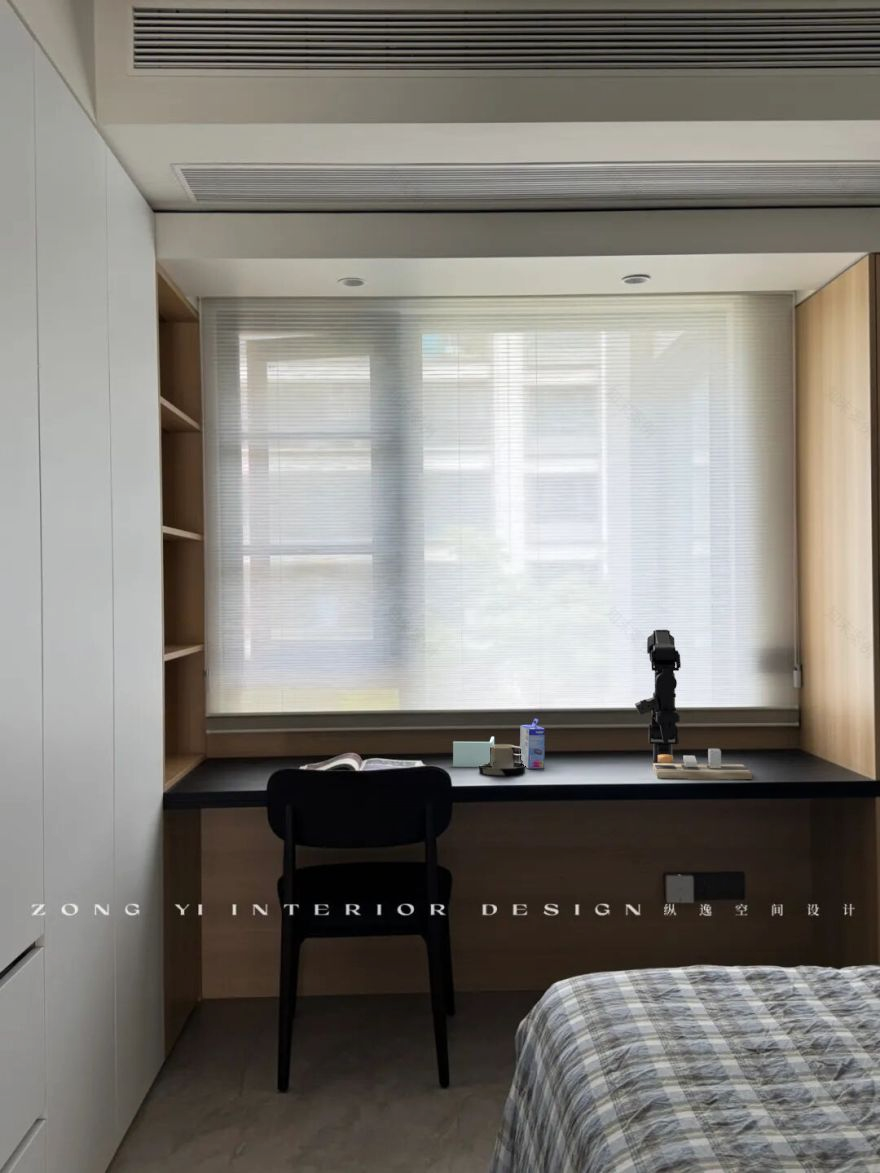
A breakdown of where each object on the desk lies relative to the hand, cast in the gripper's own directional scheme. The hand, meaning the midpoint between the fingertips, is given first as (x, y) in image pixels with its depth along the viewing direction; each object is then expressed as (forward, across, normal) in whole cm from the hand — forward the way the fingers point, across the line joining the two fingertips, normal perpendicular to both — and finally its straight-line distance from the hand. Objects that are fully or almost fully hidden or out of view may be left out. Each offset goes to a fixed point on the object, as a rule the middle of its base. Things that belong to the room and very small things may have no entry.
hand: (665, 742), depth 284 cm
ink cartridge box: (+9, -10, -39) cm, 41 cm away
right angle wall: (+9, -14, -57) cm, 60 cm away
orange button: (+5, 0, 0) cm, 6 cm away
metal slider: (+7, 0, +14) cm, 15 cm away
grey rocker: (+6, 0, +7) cm, 9 cm away
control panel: (+9, 0, +10) cm, 14 cm away
